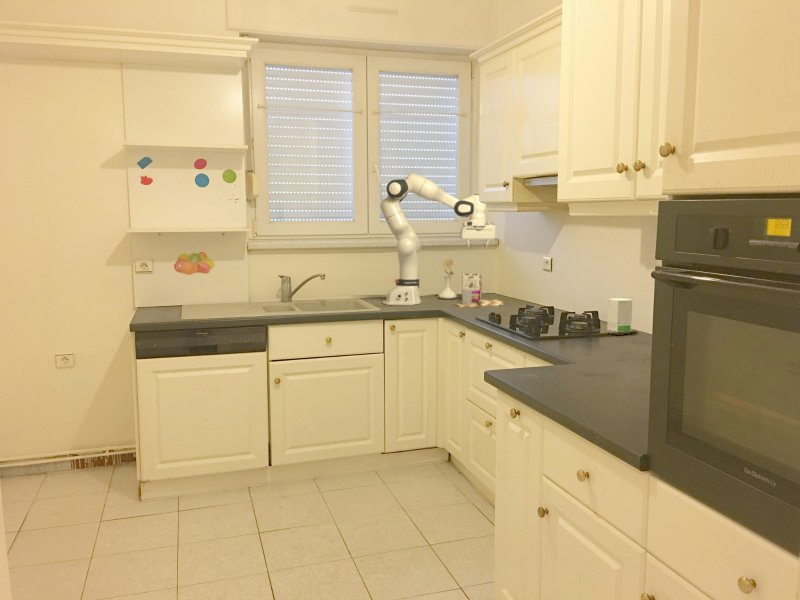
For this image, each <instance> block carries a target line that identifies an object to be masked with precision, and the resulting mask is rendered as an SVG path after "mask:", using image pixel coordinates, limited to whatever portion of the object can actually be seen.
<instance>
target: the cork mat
mask: <svg viewBox="0 0 800 600" xmlns="http://www.w3.org/2000/svg"><path fill="white" fill-rule="evenodd" d="M454 304H455V305H454V306H456V305H457V306H456V307H458V306H459V307H458V308H477V307H478V308H480V307H481V306H480V305H478V303H475V302H472V305H462V302H461V303H459V302H458V303H457V302H456V303H454ZM475 306H476V307H475Z"/></svg>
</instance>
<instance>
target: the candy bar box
mask: <svg viewBox="0 0 800 600" xmlns="http://www.w3.org/2000/svg"><path fill="white" fill-rule="evenodd" d="M482 278H483V277H482V273H463V274H462V275H461V292H462V291H472V302H476V301H478V300H482V287H483V286H482V283H483V282H482Z"/></svg>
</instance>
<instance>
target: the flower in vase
mask: <svg viewBox="0 0 800 600" xmlns="http://www.w3.org/2000/svg"><path fill="white" fill-rule="evenodd" d="M453 265H454V260H453V259H452V258H447V259H445V261H443V264H442V269H443V270H444V273H446V274H447V275H445V276H443V277H444V280H445V288H444V290H442V291H441V292H440V293H439V294H438V298H441V299H444V300H452V299H455V298H457V297H458V295H457V294H456V292H454V291H453V290H452V289H451V288H450V283H451V280H452V279H451V278H452V277H453V275H454V272H453V270H452V266H453ZM448 270H450V271H449V272H448Z"/></svg>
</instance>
